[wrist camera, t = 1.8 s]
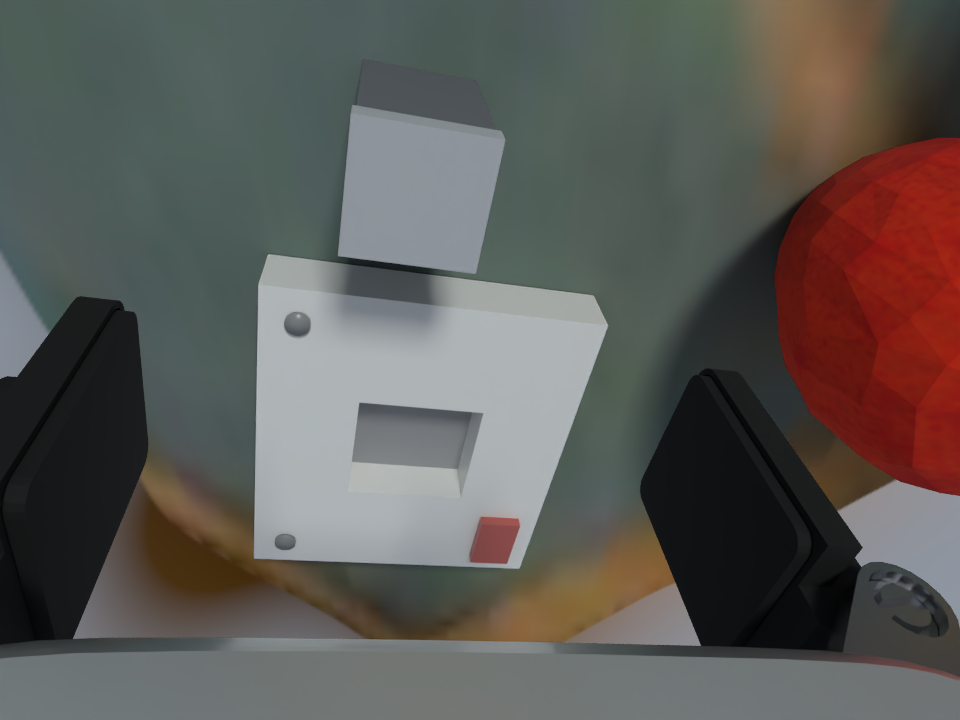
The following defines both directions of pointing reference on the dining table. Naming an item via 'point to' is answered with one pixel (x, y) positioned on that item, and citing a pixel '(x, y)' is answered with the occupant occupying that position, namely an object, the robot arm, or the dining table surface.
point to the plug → (418, 169)
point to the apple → (880, 309)
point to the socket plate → (410, 412)
